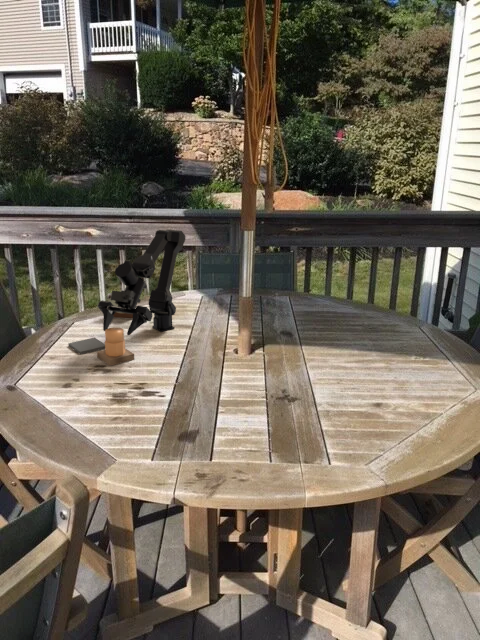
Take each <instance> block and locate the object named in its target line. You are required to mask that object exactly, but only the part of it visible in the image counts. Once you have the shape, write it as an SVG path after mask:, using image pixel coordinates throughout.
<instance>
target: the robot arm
mask: <svg viewBox="0 0 480 640" xmlns="http://www.w3.org/2000/svg"><path fill="white" fill-rule="evenodd" d="M185 242H186V234H185V233H184V232H183V231H182V230H176V229H158V230H156V231H155V235H154V237H153V239H152V240H151V242H150V243H149V245H148V246H147V248H146V250H145V251H144V253H143V254H142V255H139V256H137V257H136V258H135V259H134V261H133V262H131V260H124V262H123V263H120V264H119V265H118V266H117V267H116V268H115V270H114V272H115V276H116V277H117V278H118V280H120V282H121V283H122V285H124V286H125V288H124V290H123V289H122V290H121V291H119V290H111V293H112V294H111V299H110V300H114V301H115V303H116V304H118V306H114V305H113V304H112V303H111V302H110V301H108V300H100V301H99V302H98V304H97V308H98V309H99V310H100V312H101V313H102V315H103V317H102V318H103V322H102V323H103V328H102V330H103V332H105V330H106V329H108V328H110V325H111V323H112V321H113V320H114V319H115V318H114V316H113V315H114V314H115V312H120V313H127V314H133V319H131V322H130V324H129V327H128V328H127V332H126V334H127V336H130V335H131V334H132V333H134V332H135V331H136V330H137V329H138V328H139V327H141V326H142V325H144V324H147V322H151V321H152V320H153V321H152V322H153V324H152V327H151V328H153V329H155V330H157V331H158V332H165V331H169V330H173V329H175V326H173V316H175V315H176V312H177V307H176V306H175V304H174V302H173V296H172V293H171V287H172V286H171V285H172V280H173V275H174V272H175V271H174V270H175V264H176V260H177V256H178V253H179V252H180V251H182V250H183V247H184V244H185ZM163 250H164V252H163ZM162 252H163V257H162V261H161V267H160V271H159V278H158V281H157V286H156V287H155V289H152V290H151V291H150V294H149V299H148V307H149V308H148V307H147V306H143V305H138V304H139V303H141V299H140V297H141V295H142V293H143V290H145V289H146V290H147V289H148V287H147V286H148V285H147V283H146V280H144V279H151V278H152V276H153V275H154V273H155V270H156V261H157V260H158V258H159V257H160V255H161V253H162ZM153 314H154V315H153Z"/></svg>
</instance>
